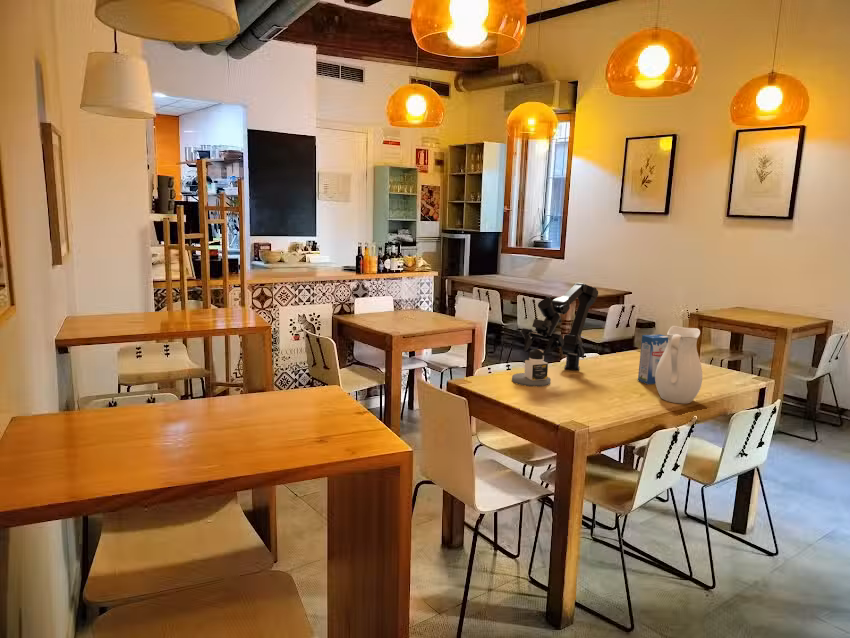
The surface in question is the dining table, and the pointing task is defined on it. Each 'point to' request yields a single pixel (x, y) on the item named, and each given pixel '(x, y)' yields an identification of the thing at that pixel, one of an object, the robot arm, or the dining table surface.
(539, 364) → the medicine bottle
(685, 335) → the pitcher
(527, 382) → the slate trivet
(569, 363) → the robot arm
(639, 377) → the milk carton
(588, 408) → the dining table surface
